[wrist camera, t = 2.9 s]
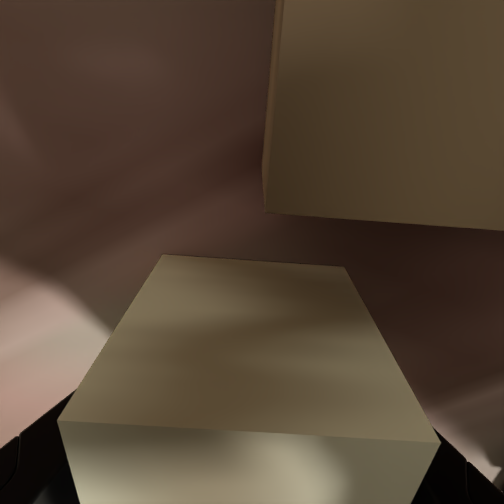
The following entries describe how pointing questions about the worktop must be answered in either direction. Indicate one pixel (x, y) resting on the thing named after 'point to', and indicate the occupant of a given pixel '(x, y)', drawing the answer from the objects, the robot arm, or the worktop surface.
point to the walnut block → (387, 112)
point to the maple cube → (246, 394)
